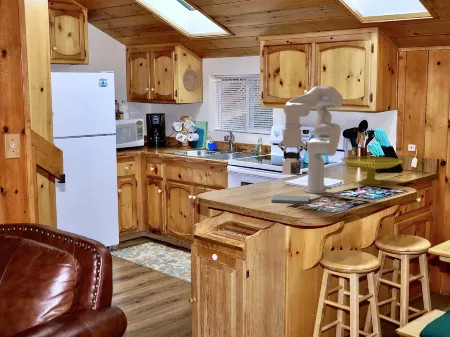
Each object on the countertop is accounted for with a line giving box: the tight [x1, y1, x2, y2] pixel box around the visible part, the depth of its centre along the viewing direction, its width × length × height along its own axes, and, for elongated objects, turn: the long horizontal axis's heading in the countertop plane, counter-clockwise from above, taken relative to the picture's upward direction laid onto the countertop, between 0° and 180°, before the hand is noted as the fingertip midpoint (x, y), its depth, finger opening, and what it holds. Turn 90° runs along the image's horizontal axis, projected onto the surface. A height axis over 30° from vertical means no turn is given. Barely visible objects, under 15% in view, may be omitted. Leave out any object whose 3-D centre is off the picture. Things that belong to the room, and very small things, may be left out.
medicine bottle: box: [281, 151, 302, 176], centre depth 327 cm, size 7×7×12 cm
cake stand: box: [340, 155, 404, 185], centre depth 390 cm, size 40×40×15 cm
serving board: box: [270, 194, 310, 205], centre depth 330 cm, size 20×14×2 cm
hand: (291, 159), depth 326 cm, fingers closed on medicine bottle, 6 cm apart
